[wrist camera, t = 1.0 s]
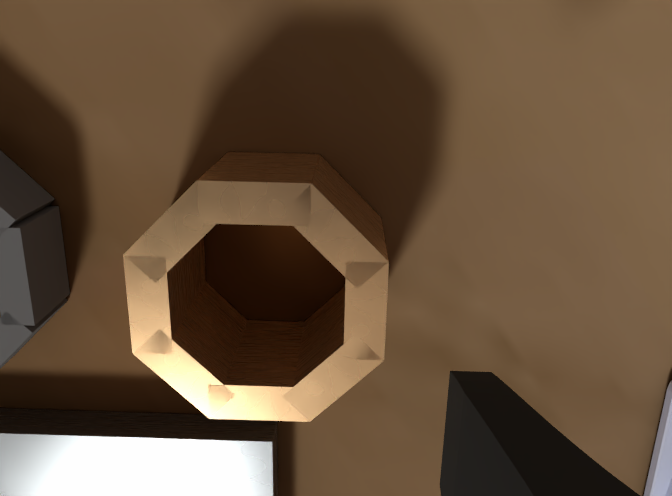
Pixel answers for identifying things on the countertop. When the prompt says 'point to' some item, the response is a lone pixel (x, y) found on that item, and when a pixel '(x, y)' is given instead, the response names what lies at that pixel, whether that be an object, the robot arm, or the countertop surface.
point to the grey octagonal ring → (28, 259)
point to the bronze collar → (250, 335)
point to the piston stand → (135, 454)
